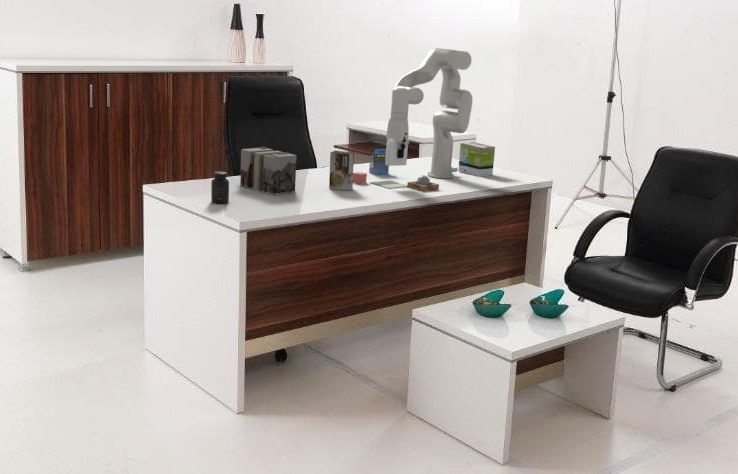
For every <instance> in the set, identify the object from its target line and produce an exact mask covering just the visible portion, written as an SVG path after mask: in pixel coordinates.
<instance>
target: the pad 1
mask: <svg viewBox="0 0 738 474" xmlns="http://www.w3.org/2000/svg"><path fill="white" fill-rule="evenodd" d="M397 183H399V182H397V181H394V180H390V179H389V180H382V181H372V182H371V181H370V182H369V184H372V185H375V186H378V187H381V186H380V185H387V184H397Z"/></svg>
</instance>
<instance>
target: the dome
mask: <svg viewBox="0 0 738 474" xmlns="http://www.w3.org/2000/svg"><path fill="white" fill-rule="evenodd" d="M416 180H417V184H421V185H429V184H430V182H431V181H430V180H431V179H430V178H429V176H428V175H420V176H418V178H417V179H416Z"/></svg>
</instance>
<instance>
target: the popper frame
mask: <svg viewBox="0 0 738 474" xmlns="http://www.w3.org/2000/svg"><path fill="white" fill-rule="evenodd" d="M406 183H407V184H406V185H407V187H406V188H409V189H413V190H415V191H419V192H430V191H438V190H439V189H440V184H439V183H435V182H431V181H430V184H429V185H421V184H417V181H416V180H413V181H407V182H406Z"/></svg>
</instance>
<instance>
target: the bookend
mask: <svg viewBox="0 0 738 474" xmlns="http://www.w3.org/2000/svg"><path fill="white" fill-rule="evenodd" d="M296 172H297V155H296V154H293V153H289V152H283V151H280V150H274V149H272V148H268V147H266V146H260V147H252V148H243V149H240V185H239V186H242V185H244V187H246V188H249V187H250V188H252V187H253V190H255V189H256V190H255V191H262V193H268V194H269V195H277V194H276V193H280V194H287V193H286V192H288V193H294V192H296V181H297V180H296V177H297V175H296V174H297V173H296Z"/></svg>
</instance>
